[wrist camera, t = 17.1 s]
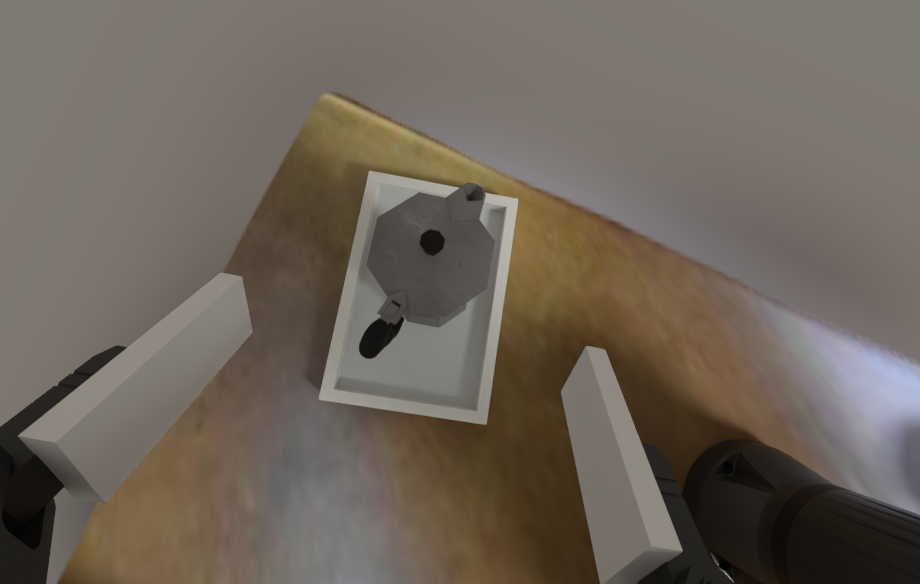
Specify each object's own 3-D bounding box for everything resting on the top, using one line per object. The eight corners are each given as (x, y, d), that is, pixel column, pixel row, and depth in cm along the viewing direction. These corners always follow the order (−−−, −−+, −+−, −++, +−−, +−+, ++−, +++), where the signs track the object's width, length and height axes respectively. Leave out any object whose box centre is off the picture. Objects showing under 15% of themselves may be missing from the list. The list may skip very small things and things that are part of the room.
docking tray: (513, 207, 43) (518, 198, 41) (482, 420, 39) (486, 425, 36) (372, 180, 42) (369, 170, 40) (325, 396, 38) (318, 399, 35)
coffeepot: (428, 219, 41) (427, 123, 23) (495, 263, 41) (546, 199, 23) (350, 330, 38) (283, 315, 21) (422, 377, 38) (416, 403, 21)
